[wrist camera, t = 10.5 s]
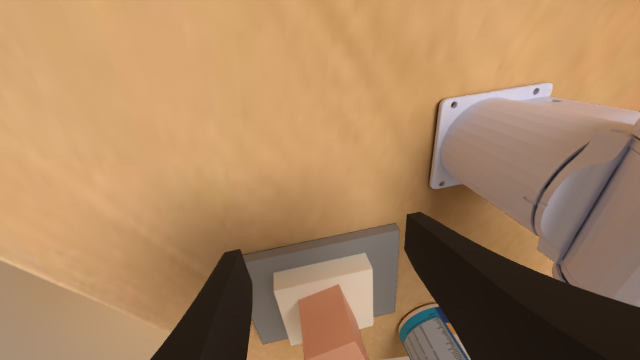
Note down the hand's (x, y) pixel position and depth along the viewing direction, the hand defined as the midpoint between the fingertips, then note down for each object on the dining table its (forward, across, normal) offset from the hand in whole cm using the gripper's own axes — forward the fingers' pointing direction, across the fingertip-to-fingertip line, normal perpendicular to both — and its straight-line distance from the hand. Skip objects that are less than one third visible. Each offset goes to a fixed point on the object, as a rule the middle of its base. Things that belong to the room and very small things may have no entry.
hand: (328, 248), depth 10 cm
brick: (+7, 0, +15) cm, 16 cm away
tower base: (+10, 0, +15) cm, 18 cm away
